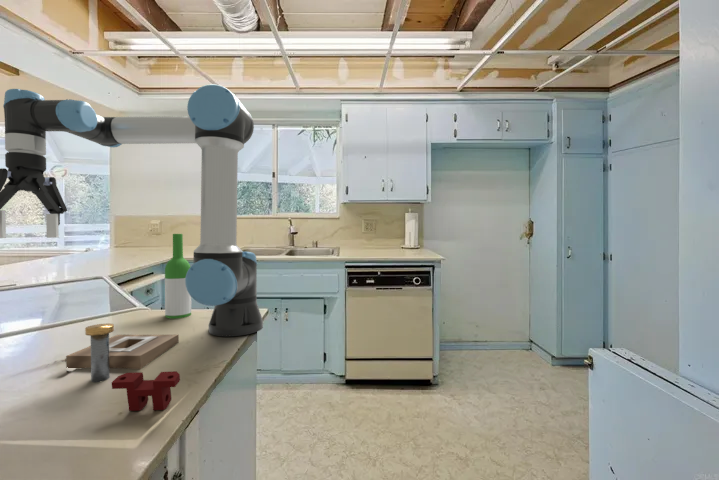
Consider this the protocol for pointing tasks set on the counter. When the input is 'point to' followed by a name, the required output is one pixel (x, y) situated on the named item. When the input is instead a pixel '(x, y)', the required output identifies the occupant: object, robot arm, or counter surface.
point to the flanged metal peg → (100, 351)
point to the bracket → (147, 389)
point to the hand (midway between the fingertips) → (27, 238)
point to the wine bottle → (177, 283)
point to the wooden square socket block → (127, 351)
